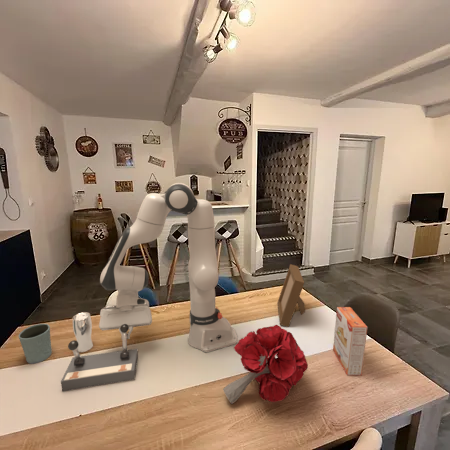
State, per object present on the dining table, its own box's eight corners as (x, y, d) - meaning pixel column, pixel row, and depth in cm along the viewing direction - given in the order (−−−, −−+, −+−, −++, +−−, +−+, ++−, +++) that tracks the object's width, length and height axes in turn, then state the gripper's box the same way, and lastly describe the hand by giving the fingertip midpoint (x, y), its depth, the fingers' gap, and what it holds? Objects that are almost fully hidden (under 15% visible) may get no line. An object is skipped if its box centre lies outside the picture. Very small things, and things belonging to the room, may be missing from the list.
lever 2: (130, 356, 101) (129, 322, 103) (128, 359, 98) (128, 324, 100) (121, 357, 100) (120, 323, 102) (119, 360, 97) (119, 325, 99)
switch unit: (138, 357, 106) (137, 347, 105) (134, 379, 95) (133, 369, 94) (73, 366, 101) (72, 356, 100) (62, 391, 89) (60, 380, 88)
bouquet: (257, 447, 78) (329, 381, 84) (219, 397, 71) (300, 329, 77) (232, 394, 98) (292, 344, 104) (201, 352, 92) (266, 300, 98)
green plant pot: (58, 352, 108) (55, 327, 106) (32, 368, 99) (28, 341, 97) (43, 345, 113) (40, 321, 110) (17, 360, 104) (12, 334, 101)
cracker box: (331, 350, 111) (336, 306, 106) (345, 350, 110) (351, 306, 106) (345, 375, 97) (351, 326, 93) (362, 376, 97) (368, 326, 92)
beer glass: (86, 354, 108) (82, 321, 104) (72, 351, 109) (67, 319, 106) (97, 343, 114) (94, 312, 111) (84, 341, 116) (80, 311, 113)
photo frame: (279, 326, 127) (283, 279, 122) (277, 304, 148) (279, 263, 143) (310, 329, 125) (315, 281, 120) (303, 306, 146) (307, 265, 141)
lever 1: (85, 358, 98) (78, 337, 91) (83, 366, 95) (76, 346, 89) (76, 359, 97) (68, 339, 91) (74, 368, 95) (65, 347, 88)
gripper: (99, 304, 104) (95, 341, 97) (151, 299, 109) (151, 334, 101) (102, 309, 110) (99, 344, 102) (152, 304, 114) (152, 337, 107)
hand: (125, 339), depth 102 cm, fingers closed
